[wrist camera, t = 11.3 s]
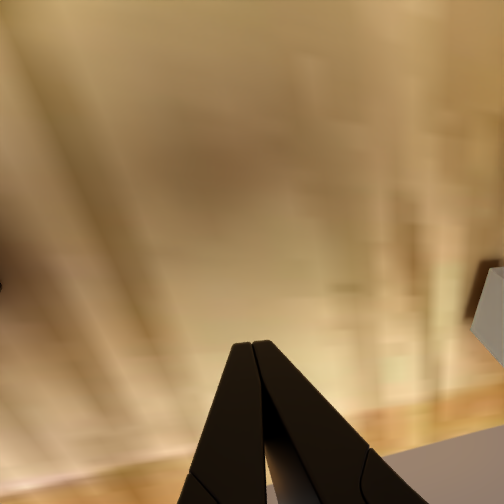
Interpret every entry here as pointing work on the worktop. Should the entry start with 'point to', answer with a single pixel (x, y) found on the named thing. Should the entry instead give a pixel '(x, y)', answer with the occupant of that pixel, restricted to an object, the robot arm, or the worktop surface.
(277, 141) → the worktop surface
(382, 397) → the worktop surface
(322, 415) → the robot arm
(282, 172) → the worktop surface
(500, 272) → the light gray button
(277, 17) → the worktop surface
